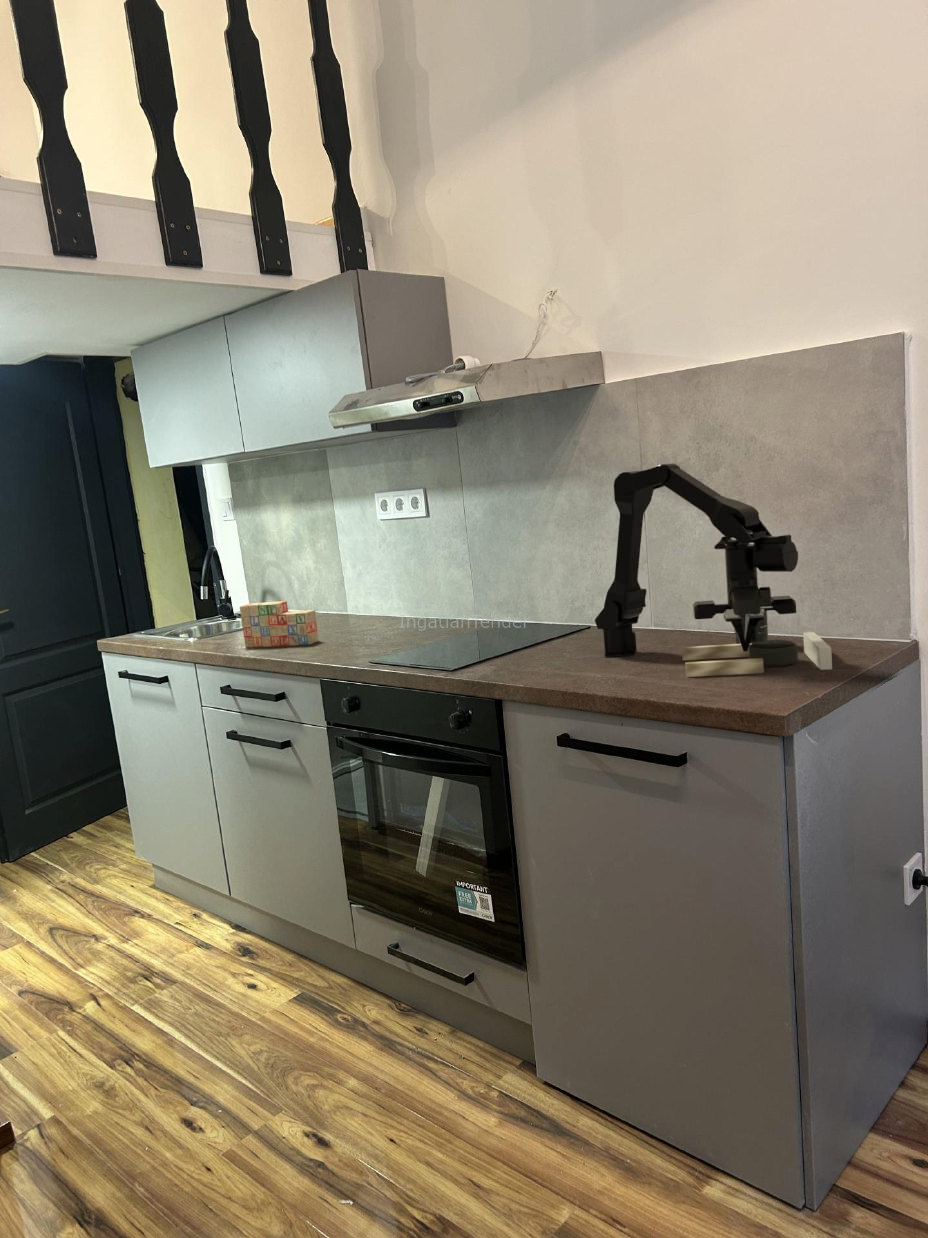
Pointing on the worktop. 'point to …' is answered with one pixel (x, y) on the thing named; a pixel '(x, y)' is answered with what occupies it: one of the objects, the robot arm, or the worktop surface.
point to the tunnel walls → (723, 665)
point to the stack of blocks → (277, 625)
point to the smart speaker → (774, 652)
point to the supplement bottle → (755, 630)
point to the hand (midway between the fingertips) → (745, 651)
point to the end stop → (817, 650)
